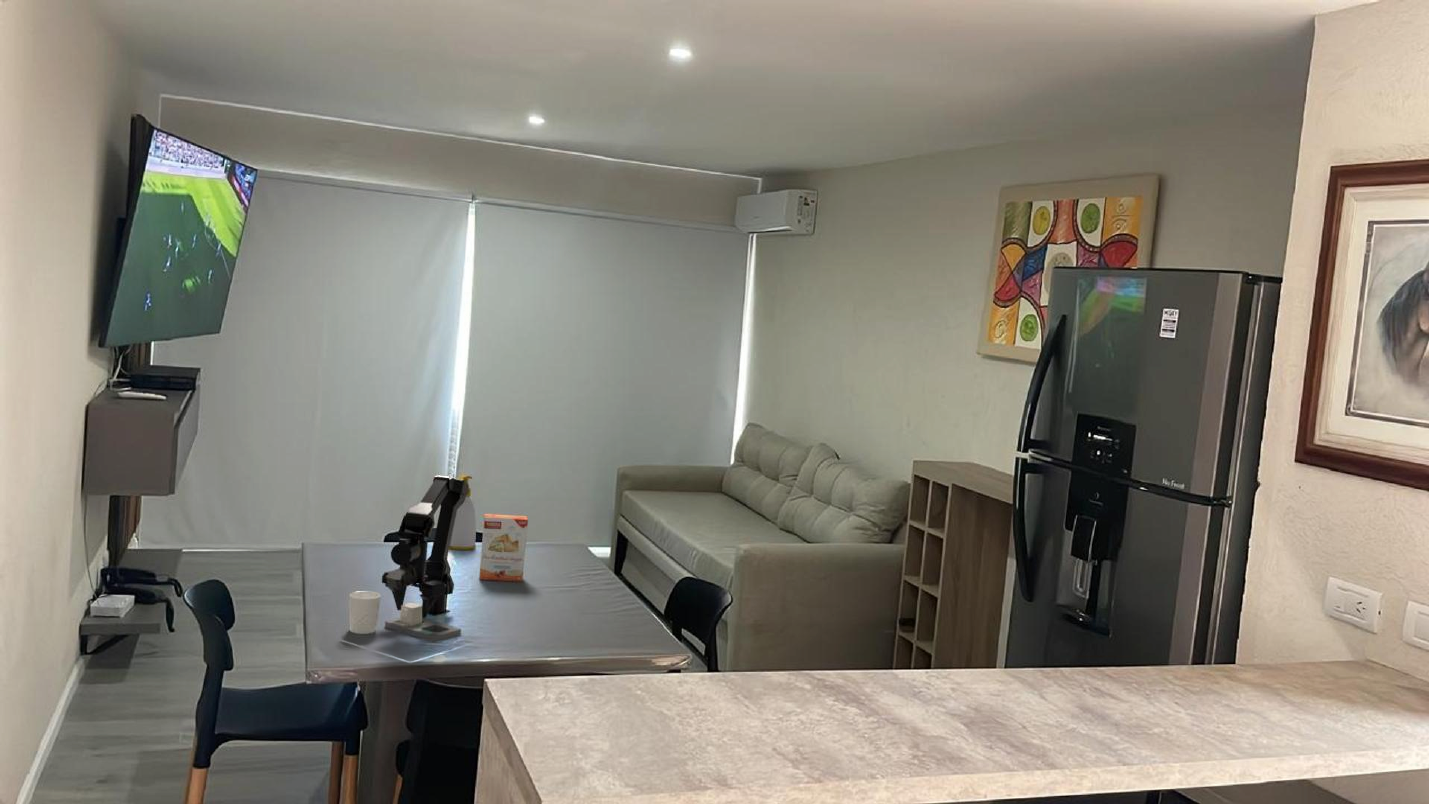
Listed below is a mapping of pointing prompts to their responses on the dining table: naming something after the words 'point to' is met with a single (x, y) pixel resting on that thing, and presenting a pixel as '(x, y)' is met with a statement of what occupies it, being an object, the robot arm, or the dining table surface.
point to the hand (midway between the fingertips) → (411, 613)
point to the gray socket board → (425, 629)
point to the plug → (411, 614)
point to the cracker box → (503, 547)
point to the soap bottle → (464, 524)
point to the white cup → (364, 611)
